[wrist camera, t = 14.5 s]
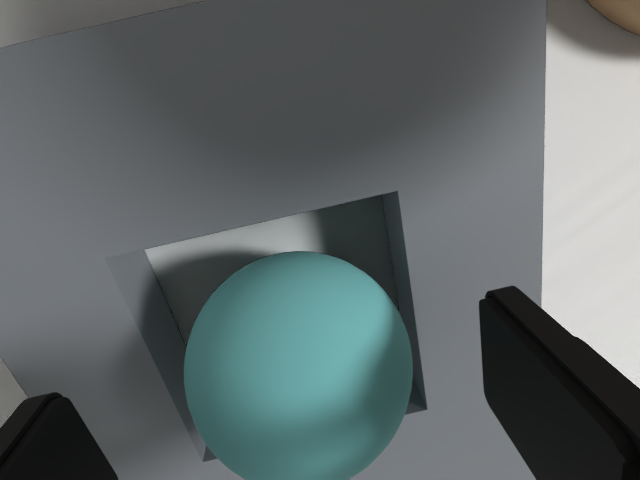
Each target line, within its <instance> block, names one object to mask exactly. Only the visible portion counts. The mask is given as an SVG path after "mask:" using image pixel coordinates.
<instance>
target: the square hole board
mask: <svg viewBox="0 0 640 480" xmlns="http://www.w3.org/2000/svg"><path fill="white" fill-rule="evenodd" d="M546 13H547V0H205V1H201V2H197V3H192V4H188V5H184V6H179V7H175V8H170V9H166V10H162V11H157V12H153V13H149V14H144V15H140V16H136V17H131V18H127V19H122V20H118V21H114V22H109V23H105V24H101V25H96V26H92V27H88V28H83V29H79V30H75V31H70V32H66V33H61V34H57V35H53V36H48V37H44V38H40V39H35V40H31V41H27V42H22V43H18V44H13V45H9V46H5V47H0V357H1V358H2V360H3V361H4V363H5V364H6V366H7V367H8V369H9V370H10V372H11V373H12V375H13V376H14V378H15V379H16V380H17V382H18V383H19V385H20V386H21V388H22V389H23V391H24V392H25V394H26V395H27V397H28V398H31V397H35V396H39V395H44V394H48V393H52V392H58V393H60V394H61V395H62V396H63V397H67V398H69V399H70V400H71V402H72V403H73V405H74V407H75V408H76V410H77V412H78V413H79V415H80V416H81V418H82V420H83V421H84V423H85V424H86V426H87V428H88V429H89V431H90V433H91V434H92V436H93V437H94V439H95V441H96V442H97V444H98V445H99V447H100V449H101V450H102V452H103V453H104V455H105V457H106V458H107V460H108V462H109V463H110V465H111V466H112V468H113V470H114V471H115V473H116V474H117V477H118V480H246V479H244V478H242V477H240V476H239V475H237V474H236V473H234V472H232V471H231V470H230V469H229V468H227V467H226V466H225V465H224V464H223V463H222V462H221V461H220V460H219V459H218V458H217V457H216V456H215V455H214V454H213V453H212V452H211V451H210V449H209V448H208V447H207V445H206V444H205V442H204V441H203V439H202V438H201V436H200V434H199V432H198V431H197V429H196V427H195V424H194V422H193V419H192V416H191V413H190V411H189V408H188V405H187V399H186V394H185V387H184V360H185V353H186V346H185V343H184V341H183V339H182V336H181V334H180V332H179V330H178V327H177V325H176V323H175V320H174V318H173V316H172V313H171V311H170V309H169V306H168V304H167V302H166V299H165V297H164V295H163V292H162V290H161V288H160V285H159V283H158V281H157V279H156V276H155V274H154V272H153V269H152V267H151V265H150V262H149V260H148V258H147V255H146V253H145V251H144V249H148V248H153V247H157V246H161V245H166V244H170V243H174V242H179V241H183V240H187V239H191V238H196V237H200V236H204V235H209V234H213V233H217V232H222V231H226V230H230V229H235V228H239V227H243V226H248V225H252V224H256V223H261V222H265V221H269V220H274V219H278V218H282V217H286V216H291V215H295V214H299V213H304V212H308V211H312V210H317V209H321V208H325V207H330V206H334V205H338V204H343V203H347V202H351V201H356V200H360V199H364V198H368V197H373V196H377V195H381V194H382V201H383V207H384V214H385V220H386V227H387V233H388V240H389V246H390V253H391V259H392V266H393V272H394V279H395V285H396V292H397V298H398V305H399V311H400V315H401V318H402V320H403V323H404V325H405V328H406V330H407V333H408V337H409V341H410V345H411V352H412V360H413V379H412V389H411V394H410V398H409V402H408V406H407V410H406V413H405V415H404V418H403V420H402V422H401V424H400V426H399V428H398V430H397V432H396V434H395V436H394V437H393V439H392V440H391V442H390V443H389V445H388V446H387V447H386V448H385V449H384V451H383V452H382V453H381V454H380V455H379V456H378V457H377V458H376V459H375V460H374V461H373V462H372V463H371V464H370V465H369V466H368V467H366V468H365V469H364V470H363V471H361V472H360V473H358V474H357V475H355V476H353V477H352V478H350V479H348V480H536V478H535V477H534V475H533V474H532V472H531V471H530V469H529V467H528V466H527V464H526V463H525V461H524V460H523V458H522V457H521V455H520V453H519V452H518V450H517V449H516V447H515V446H514V444H513V443H512V441H511V439H510V438H509V436H508V435H507V433H506V432H505V430H504V429H503V427H502V425H501V424H500V422H499V421H498V419H497V418H496V416H495V414H494V413H493V411H492V410H491V408H490V407H489V405H488V403H487V400H486V398H485V394H484V388H483V371H482V353H481V336H480V318H479V301H480V300H481V299H485V295H486V292H488V291H490V290H495V289H499V288H503V287H508V286H516V287H517V288H518V289H520V290H521V291H522V292H523V293H524V294H525V295H527V296H528V297H529V298H530V299H531V300H532V301H533V302H535V303H536V304H537V305H538V306H539V307H540V308H541V291H542V235H543V180H544V124H545V69H546Z"/></svg>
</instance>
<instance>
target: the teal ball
mask: <svg viewBox="0 0 640 480" xmlns="http://www.w3.org/2000/svg"><path fill="white" fill-rule="evenodd" d="M412 379H413V360H412V352H411V345H410V341H409V337H408V333H407V330H406V328H405V325H404V323H403V320H402V318H401V315H400V313H399V312H398V310H397V308H396V307H395V305H394V304H393V302H392V300H391V299H390V297H389V296H388V295H387V293H386V292H385V291H384V290H383V289H382V288H381V286H380V285H379V284H378V283H377V282H376V281H375V280H373V279H372V278H371V277H370V276H369V275H368V274H366V273H365V272H363V271H362V270H360V269H358V268H357V267H355V266H354V265H352V264H350V263H348V262H346V261H344V260H342V259H339V258H336V257H333V256H329V255H326V254H322V253H315V252H307V251H294V252H283V253H279V254H274V255H270V256H267V257H264V258H261V259H258V260H256V261H254V262H252V263H250V264H248V265H246V266H244V267H243V268H241V269H240V270H238V271H236V272H235V273H234V274H232V275H231V276H230V277H229V278H228V279H227V280H225V281H224V282H223V283H222V284H221V285H220V286H219V287H218V288H217V289H216V290H215V291H214V292H213V293H212V295H211V296H210V297H209V299H208V300H207V302H206V303H205V304H204V306H203V308H202V309H201V311H200V313H199V315H198V317H197V319H196V321H195V323H194V325H193V328H192V331H191V334H190V337H189V340H188V343H187V347H186V353H185V360H184V387H185V394H186V399H187V405H188V408H189V411H190V413H191V416H192V419H193V422H194V424H195V427H196V429H197V431H198V432H199V434H200V436H201V438H202V439H203V441H204V442H205V444H206V445H207V447H208V448H209V449H210V451H211V452H212V453H213V454H214V455H215V456H216V457H217V458H218V459H219V460H220V461H221V462H222V463H223V464H224V465H225V466H226V467H227V468H229V469H230V470H231V471H232V472H234V473H236V474H237V475H239V476H240V477H242V478H244V479H246V480H348V479H350V478H352V477H353V476H355V475H357V474H358V473H360V472H361V471H363V470H364V469H365V468H366V467H368V466H369V465H370V464H371V463H372V462H373V461H374V460H375V459H376V458H377V457H378V456H379V455H380V454H381V453H382V452H383V451H384V449H385V448H386V447H387V446H388V445H389V443H390V442H391V440H392V439H393V437H394V436H395V434H396V432H397V430H398V428H399V426H400V424H401V422H402V420H403V418H404V415H405V413H406V410H407V406H408V402H409V398H410V394H411V389H412Z"/></svg>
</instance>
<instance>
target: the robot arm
mask: <svg viewBox="0 0 640 480" xmlns="http://www.w3.org/2000/svg"><path fill="white" fill-rule="evenodd" d="M479 318H480V336H481V353H482V371H483V388H484V394H485V398H486V400H487V403H488V405H489V407H490V408H491V410H492V411H493V413H494V414H495V416H496V418H497V419H498V421H499V422H500V424H501V425H502V427H503V429H504V430H505V432H506V433H507V435H508V436H509V438H510V439H511V441H512V443H513V444H514V446H515V447H516V449H517V450H518V452H519V453H520V455H521V457H522V458H523V460H524V461H525V463H526V464H527V466H528V467H529V469H530V471H531V472H532V474H533V475H534V477H535V478H536V480H640V389H639V388H638V387H637V386H636V385H634V384H633V383H632V382H631V381H630V380H629V379H627V378H626V377H625V376H624V375H623V374H622V373H620V372H619V371H618V370H617V369H616V368H615V367H613V366H612V365H611V364H610V363H609V362H608V361H606V360H605V359H604V358H603V357H602V356H601V355H599V354H598V353H597V352H596V351H595V350H593V349H592V348H591V347H590V346H589V345H588V344H586V343H585V342H584V341H582V340H581V339H579V338H578V337H574V336H573V335H571V334H570V333H569V332H568V331H567V330H566V329H565V328H563V327H562V326H561V325H560V324H559V323H558V322H557V321H555V320H554V319H553V318H552V317H551V316H550V315H548V314H547V313H546V312H545V311H544V310H543V309H542V308H540V307H539V306H538V305H537V304H536V303H535V302H533V301H532V300H531V299H530V298H529V297H528V296H527V295H525V294H524V293H523V292H522V291H521V290H520V289H518V288H517V287H516V286H508V287H503V288H499V289H495V290H490V291H488V292H486V295H485V299H481V300H480V301H479ZM0 480H118V477H117V474H116V473H115V471H114V470H113V468H112V466H111V465H110V463H109V462H108V460H107V458H106V457H105V455H104V453H103V452H102V450H101V449H100V447H99V445H98V444H97V442H96V441H95V439H94V437H93V436H92V434H91V433H90V431H89V429H88V428H87V426H86V424H85V423H84V421H83V420H82V418H81V416H80V415H79V413H78V412H77V410H76V408H75V407H74V405H73V403H72V402H71V400H70V399H69V398H67V397H63V396H62V395H61V394H60V393H58V392H52V393H48V394H44V395H39V396H35V397H31V398H28V399H26V400H24V401H23V402H22V403H21V404H20V405H19V406H18V407H17V409H16V410H15V411H14V412H13V414H12V415H11V416H10V417H9V418H8V420H7V421H6V422H5V423H4V425H3V426H2V427H1V428H0Z"/></svg>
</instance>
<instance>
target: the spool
mask: <svg viewBox="0 0 640 480" xmlns="http://www.w3.org/2000/svg"><path fill="white" fill-rule="evenodd" d="M587 1H588V2H589V3H590V4H591V5H592V6H593V7H594V8H595V9H596V10H598V11H599V12H600V13H601V14H602V15H603V16H605V17H606V18H607V19H608V20H610V21H611V22H613V23H615V24H617V25H618V26H620V27H622V28H624V29H625V30H627V31H629V32H632V33H635V34H638V35H640V0H587Z"/></svg>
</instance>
